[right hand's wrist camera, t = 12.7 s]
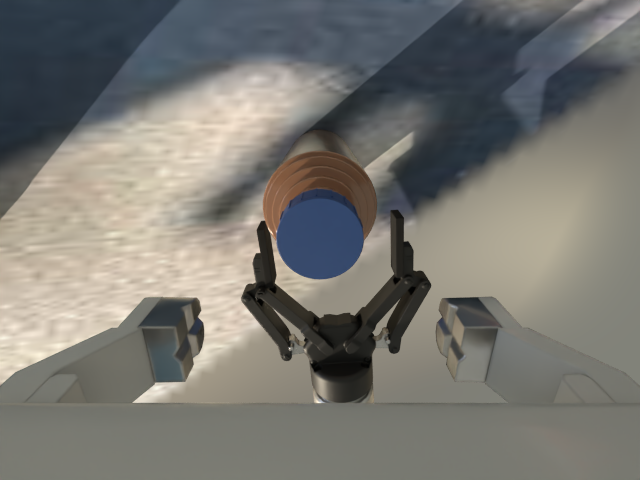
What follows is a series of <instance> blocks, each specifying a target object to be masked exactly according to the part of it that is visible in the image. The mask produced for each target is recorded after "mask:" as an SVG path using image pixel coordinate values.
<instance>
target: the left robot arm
mask: <svg viewBox="0 0 640 480" xmlns="http://www.w3.org/2000/svg"><path fill="white" fill-rule="evenodd" d="M257 235H258V241H259V247H260V253H256V255H255V257H254V260H253V268H254V274H255V280H256V283H254V284H248V285H246V288H245V290H244V292H243V295H242V297H241V301H242V302H243V304H244V305H245V306H246V307H247V309H248V310H249V311H250V312H251V314H252V315H253V316H254V317H255V319H256V320H257V321H258V322H259V323H260V325H261V326H262V327H263V328H264V330H265V331H266V332H267V333H268V335H269V336H270V337H271V338H272V339H273V341H274V342H275V343H276V344H277V346H278V348H279V351H280V354H281V358H282V359H283V360H284V361H289V360H290V359H291V358H292V355H294V354H300V353H305V354H306V355H307V356H308V358H309V362H310V370H311V378H312V385H313V395H314V402H315V403H374V396H373V369H372V353H373V351H374V349H375V348H389V351H390V352H391V353H393V354H395V353H398V352H399V350H400V343H401V337H402V336H403V334H404V332H405V330H406V329H407V327H408V325H409V324H410V322H411V320H412V318H413V317H414V315H415V313H416V312H417V310H418V308H419V307H420V305H421V303H422V302H423V300H424V298H425V296H426V295H427V293H428V291H429V290H430V288H431V283H430V282H429V280H428V278H427V277H426V275H425V274H424V272H423V271H414V270H413V249H412V246H411V245H410V243H409V242H408V241H407V242H404V217H403V216H402V215H401V213H400V212H399V211H398V210H391V267H392V269H393V272H394V275H393V276H392V277H391V278H390V279H389V281H388V282H387V283H386V284H385V285H384V286H383V287H382V289H381V290H380V291H379V292H378V293H377V294H376V295H375V296H374V298H373V299H372V300H371V301H370V302H369V303H368V304H367V305H366V307H362V308H361V309H360V311H359V312H358V313H357V314H356V315H355V316H353V315H350V313H343V314H340V315H332V314H327V315H324V317H322V318H319V317H317V316H316V315H315V314H314V313H313V312H311V311H307V310H306V309H305V308H304V307H302V306H301V305H300V304H299V303H298V302H296V301H295V300H294V299H293V298H292V297H290V296H289V295H288V294H287V293H286V292H284V291H283V290H282V289H281V288H280V287H278V286H277V285H276V284H275V279H276V269H275V262H274V256H273V249H272V243H271V236H270V231H269V229H268V227H267V224H266V222H265V221H261V222H260V224H259V226H258V228H257ZM400 298H401V299H400ZM399 299H400V301H399V302H398V304H397V306H396V308H395V310H394V311H393V313H392V315H391V317H390V318H389V321H388V323H387V327H384V328H383V329H382V331H381V333H380V334H379V335H378V336H374V334H373V333H372V332H373V331H374V330H375V327H376V324H377V323H378V322H379V321H380V320H381V319H382V318H383V317H384V316H385V314H386V313H387V312H388V311H389V310H390V309H391V308H392V307H393V306H394V305H395V304H396V302H397V301H398V300H399ZM274 309H275V310H276V311H277V312H278V313H280V314H281V315H282V316H283V317H285V318H286V319H287V320H288V321H290V322H291V323H292V324H293V325H295V326H296V327H297V328H298V329H299V330H300V331H301V333H302V335H303V336H304V337H305V339H304V341H299V340H298V339H297V337H296V336H295V335H294V334H290V331H289V329H288V328H287V326H286V325H285V324H284V322H283V321H282V320H281V318H280V317H279V316H278V315H277V313H276V312H275V311H274Z"/></svg>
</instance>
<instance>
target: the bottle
mask: <svg viewBox="0 0 640 480" xmlns="http://www.w3.org/2000/svg"><path fill="white" fill-rule="evenodd" d="M316 188H318V189H327V190H332V191H334V192H337V193H339V194H341V195H342V196H345V197H346V199H348V200H349V201H350V202H351V204H352V205H353V206H355V208H356V211H357V214H358V217H359V218H360V220H361V222H362V225H363V228H362V229H363V234H364V240H365V239H366V237H367V236H368V234H369V233H370V231H371V229H372V227H373V224H374V221H375V218H376V212H377V199H376V193H375V190H374V187H373V184H372V182H371V180H370V179H369V177H368V175H367V174H366V172H365V171H364V169H363V168H362V166H361V165H360V163H359V162H358V160H357V159H356V157H355V156H354V154H353V153H352V152H351V150H350V149H349V147H348V146H347V144H346V143H345V142H344V140H343V139H342V138H341V137H339V136H338V135H337V134H335V133H333V132H330V131H327V130H313V131H309V132H307V133H305V134H303V135H302V136H300V137H299V138H298V139H297V140H296V141H295V142H294V144H293V145H292V147H291V148H290V150H289V151H288V153H287V154H286V156H285V157H284V159H283V160H282V162H281V163H280V165H279V166H278V168H277V169H276V171H275V172H274V174H273V175H272V177H271V178H270V180H269V182H268V184H267V186H266V190H265V193H264V199H263V213H264V218H265V222H266V224H267V227H268V229H269V231H270V233H271V235H272V236H273V237H274V239H275V240H276V232H277V229H278V226H279V223H280V220H279V219H280V217H281V214H282V211H284V210H285V208H286V206H287V205H288V204H289V202H290V200H292V199H294V198H295V197H296V196H298V195H299V194H301V193H302V192H306V191H309V190H314V189H316Z"/></svg>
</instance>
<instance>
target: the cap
mask: <svg viewBox="0 0 640 480" xmlns="http://www.w3.org/2000/svg"><path fill="white" fill-rule="evenodd" d="M279 220H280V223H279V226H278V229H277V232H276V242H277V248H278V251H279V254H280V256H281V258H282V259H283V261H284V262H285V263H286V265H287V266H288V267H289V268H290V269H292V270H293V271H294V272H296V273H298V274H300V275H302V276H304V277H307V278H312V279H328V278H333V277H336V276H338V275H341V274H342V273H344V272H346V271H347V270H348V269H350V268H351V267H352V266H353V265H354V264H355V262H356V261H357V259H358V258H359V256H360V254H361V252H362V248H363V243H364V234H363V229H362V228H363V225H362V222H361V220H360V218H359V217H358V214H357V211H356V208H355V206H353V205H352V204H351V202H350V201H349V200H348V199H346V197H345V196H342V195H341V194H339V193H337V192H334V191H332V190H327V189H318V188H316V189H314V190H309V191H306V192H302V193H301V194H299V195H298V196H296V197H295V198H294V199H292V200H290V202H289V204H288V205H287V206H286V208H285V210H284V211H282V214H281V217H280V219H279Z"/></svg>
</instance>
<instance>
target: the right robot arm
mask: <svg viewBox="0 0 640 480" xmlns="http://www.w3.org/2000/svg"><path fill="white" fill-rule="evenodd" d="M200 312H201V307H200V301H199V300H198V299H197V298H184V297H147V298H144V299H143V300H142V301H141V303H140V304H139V305H138V306H137V307H136V308H135V309H134V310H133V311H132V312H131V313H130V315H129V316H128V317H127V318H126V319H125V320H124V321H123V322H122V323H121V324H120V325H119V327H118V328H111V329H108V330H106V331H104V332H102V333H100V334H98V335H95V336H93V337H91V338H89V339H87V340H85V341H82V342H80V343H78V344H76V345H74V346H72V347H69V348H67V349H65V350H63V351H61V352H59V353H56V354H54V355H52V356H50V357H48V358H46V359H43V360H41V361H39V362H37V363H35V364H33V365H30V366H28V367H26V368H24V369H22V370H20V371H17V372H15V373H14V374H13V375H12V376H11V377H10V378H9V379H7V380H6V381H5V382H4V383H3V384H2V385H1V386H0V480H640V385H638V384H637V383H636V382H635V381H634V380H633V379H632V378H631V377H629V376H628V375H627V374H626V373H624V372H622V371H620V370H618V369H616V368H614V367H611V366H609V365H607V364H605V363H603V362H601V361H598V360H596V359H594V358H592V357H590V356H588V355H586V354H583V353H581V352H579V351H577V350H575V349H573V348H570V347H568V346H566V345H564V344H562V343H560V342H558V341H555V340H553V339H551V338H549V337H547V336H545V335H542V334H540V333H538V332H536V331H534V330H532V329H529V328H522V327H521V326H520V324H519V323H518V322H517V321H516V320H515V319H514V318H513V317H512V316H511V315H510V313H509V312H508V311H507V310H506V309H505V308H504V307H503V306H502V305H501V304H500V303H499V301H498V300H497V299H496V298H493V297H470V298H442V300H441V302H440V306H439V312H440V313H441V315H442V318H441V319H440V320H439V321H438V322H437V326H436V341H437V345H438V348H439V350H440V353H441V354H442V355H444V356H445V357H446V358H447V364H446V365H447V367H448V369H449V371H450V373H451V375H452V377H453V379H454V381H455V382H484V383H485V384H486V385H487V386H488V387H490V388H491V389H492V390H493V391H495V392H496V393H497V394H498V395H499V396H501V397H502V398H503V399H504V400H506V401H507V402H508V403H132V402H133V401H135V400H136V399H137V398H138V397H139V396H141V395H142V394H143V393H144V392H146V391H147V390H148V389H149V388H150V387H152V386H153V385H154V384H155V383H156V382H185V381H186V379H187V377H188V375H189V373H190V371H191V369H192V367H193V365H194V363H193V358H194V357H195V356H196V355H198V354H199V353H200V350H201V348H202V345H203V340H204V326H203V322H202V321H201V320H200V319H199V318H198V315H199V313H200Z"/></svg>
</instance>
